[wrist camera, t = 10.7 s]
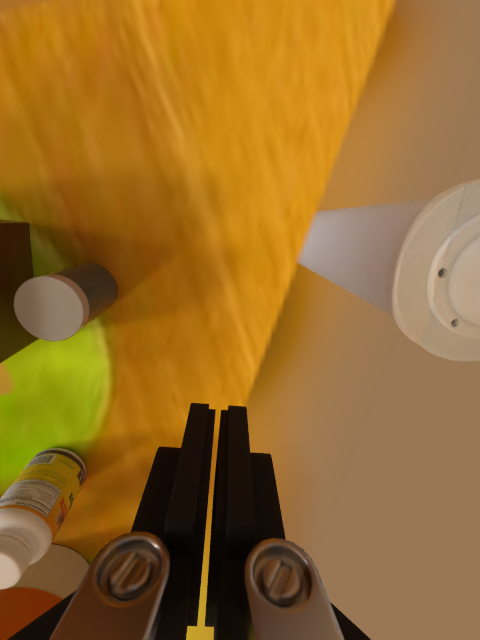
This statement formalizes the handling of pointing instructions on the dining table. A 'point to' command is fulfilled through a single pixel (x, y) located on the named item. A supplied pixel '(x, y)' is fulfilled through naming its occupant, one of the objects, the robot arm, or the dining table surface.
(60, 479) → the supplement bottle
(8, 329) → the box
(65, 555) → the reusable coffee cup
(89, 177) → the dining table surface
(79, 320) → the cylinder
